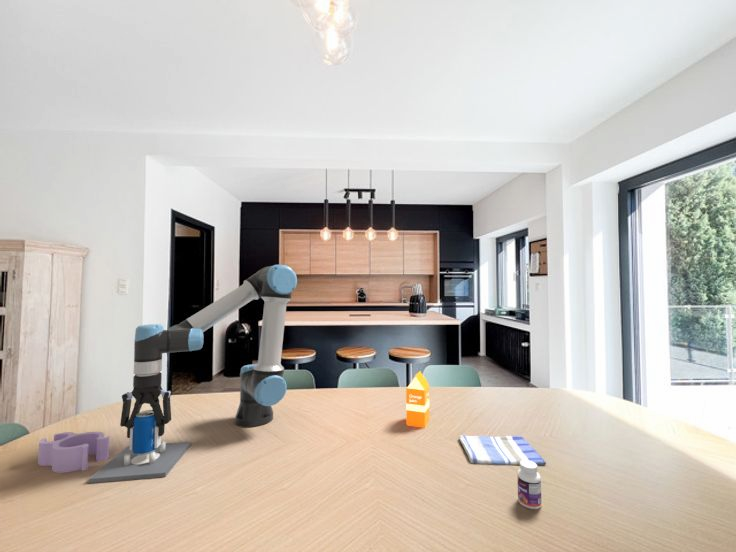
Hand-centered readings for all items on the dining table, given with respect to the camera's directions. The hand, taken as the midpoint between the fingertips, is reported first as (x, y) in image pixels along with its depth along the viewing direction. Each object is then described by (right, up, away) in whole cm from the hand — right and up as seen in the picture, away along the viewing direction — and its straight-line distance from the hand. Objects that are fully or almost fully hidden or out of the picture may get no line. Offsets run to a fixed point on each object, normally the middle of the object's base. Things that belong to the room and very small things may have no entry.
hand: (145, 446), depth 104 cm
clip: (-24, -5, +1) cm, 25 cm away
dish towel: (+115, -6, +6) cm, 115 cm away
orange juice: (+91, -6, +31) cm, 97 cm away
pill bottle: (+112, -4, -21) cm, 114 cm away
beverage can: (0, -2, 0) cm, 2 cm away
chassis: (0, -5, 0) cm, 5 cm away
